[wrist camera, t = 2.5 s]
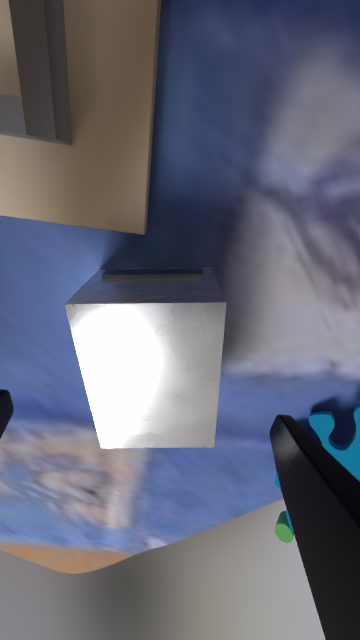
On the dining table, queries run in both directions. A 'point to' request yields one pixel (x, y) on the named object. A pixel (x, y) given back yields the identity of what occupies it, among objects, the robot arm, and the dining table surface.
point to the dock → (78, 110)
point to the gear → (353, 456)
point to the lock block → (151, 354)
